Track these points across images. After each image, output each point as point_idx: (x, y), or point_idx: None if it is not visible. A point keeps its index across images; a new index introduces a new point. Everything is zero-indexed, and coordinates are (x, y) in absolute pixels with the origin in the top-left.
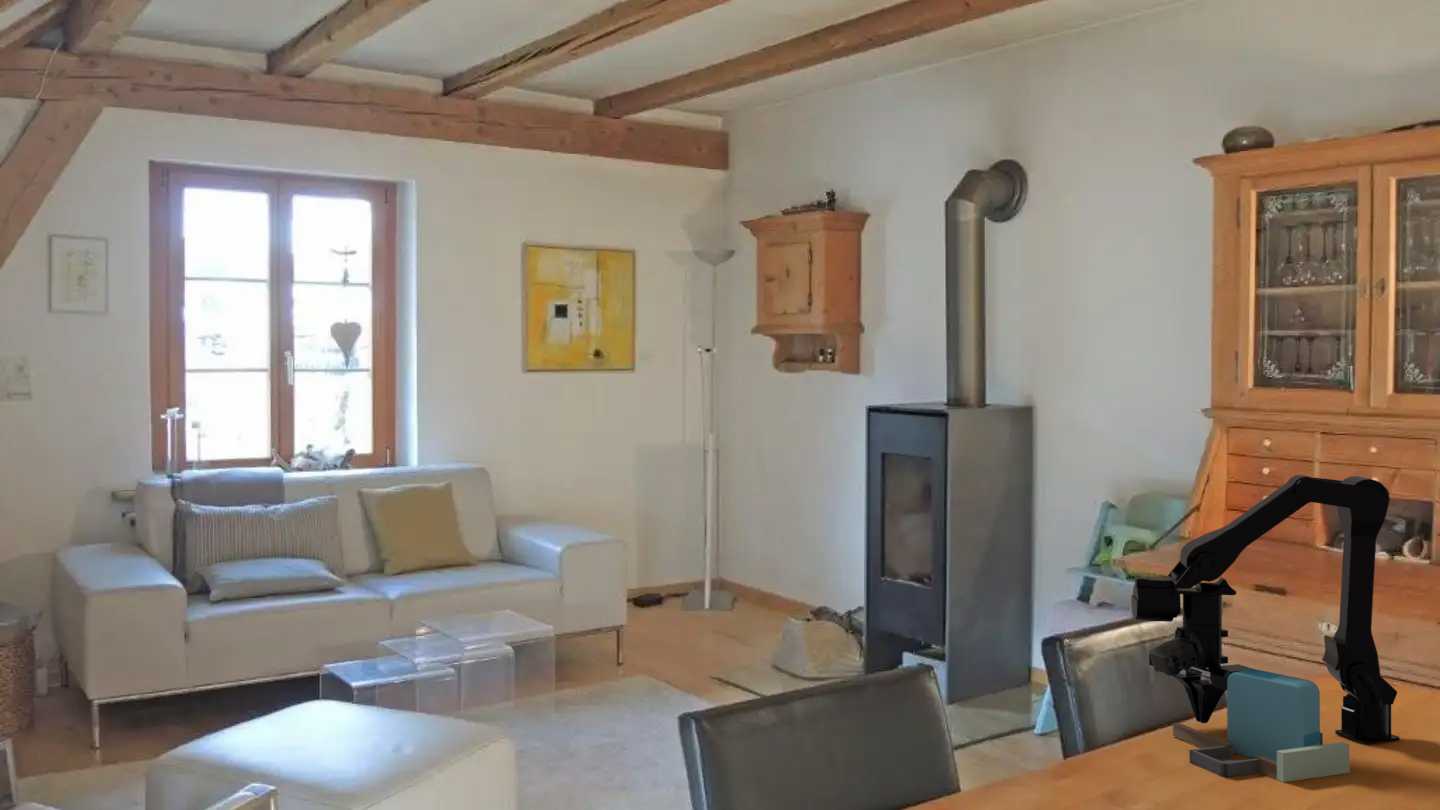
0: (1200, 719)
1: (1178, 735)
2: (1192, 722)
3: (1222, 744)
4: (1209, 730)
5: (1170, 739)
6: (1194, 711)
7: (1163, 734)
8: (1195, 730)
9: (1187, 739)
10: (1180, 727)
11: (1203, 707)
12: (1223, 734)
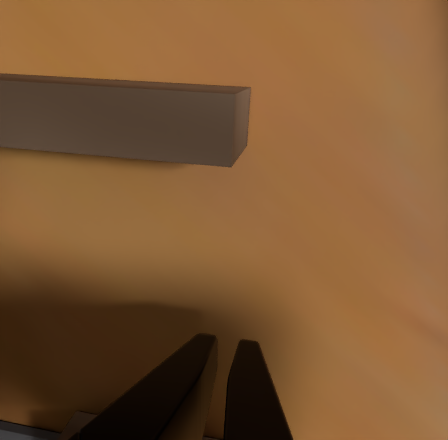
0: (203, 344)
1: (184, 85)
2: (442, 421)
3: None
4: None
5: (209, 21)
6: (254, 382)
7: (337, 65)
8: (7, 125)
9: (87, 79)
10: (134, 87)
11: (105, 411)
12: None
